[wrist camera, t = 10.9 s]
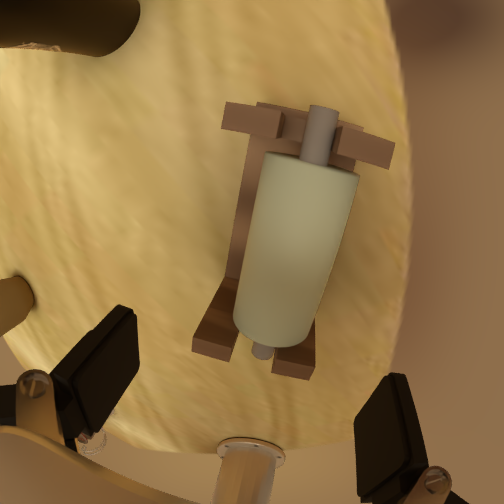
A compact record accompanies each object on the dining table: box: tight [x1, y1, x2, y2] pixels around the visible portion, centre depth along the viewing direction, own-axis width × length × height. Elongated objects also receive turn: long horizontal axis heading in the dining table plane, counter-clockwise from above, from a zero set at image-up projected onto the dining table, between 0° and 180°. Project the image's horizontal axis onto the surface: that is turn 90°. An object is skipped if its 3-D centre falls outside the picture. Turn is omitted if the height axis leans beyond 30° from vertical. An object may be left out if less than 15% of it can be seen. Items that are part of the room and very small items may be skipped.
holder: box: [192, 102, 395, 380], centre depth 22 cm, size 19×9×11 cm, turn 169°
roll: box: [233, 105, 360, 360], centre depth 20 cm, size 19×6×6 cm
